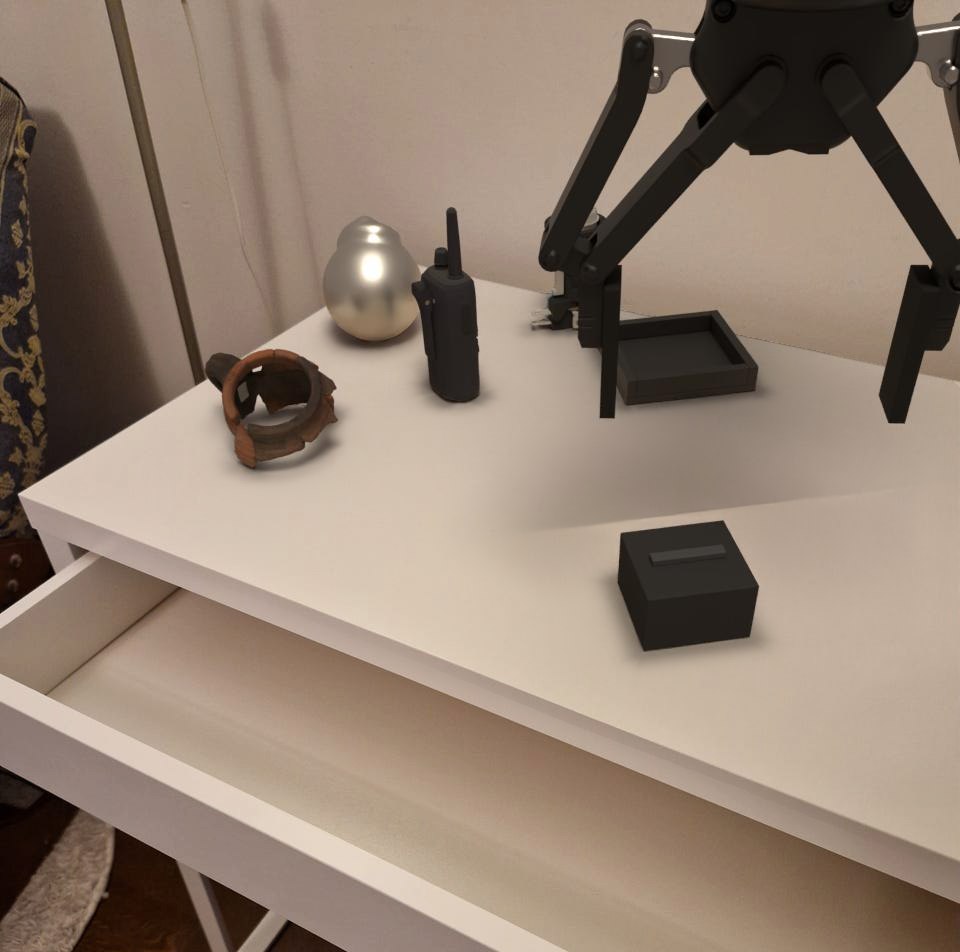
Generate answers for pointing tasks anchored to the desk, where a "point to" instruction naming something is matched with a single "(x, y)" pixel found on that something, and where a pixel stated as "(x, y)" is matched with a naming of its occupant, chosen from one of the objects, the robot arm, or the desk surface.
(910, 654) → the desk surface
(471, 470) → the desk surface
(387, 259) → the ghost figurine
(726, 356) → the base pad
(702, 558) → the top pad
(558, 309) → the push button
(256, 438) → the pottery mug
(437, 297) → the two-way radio
